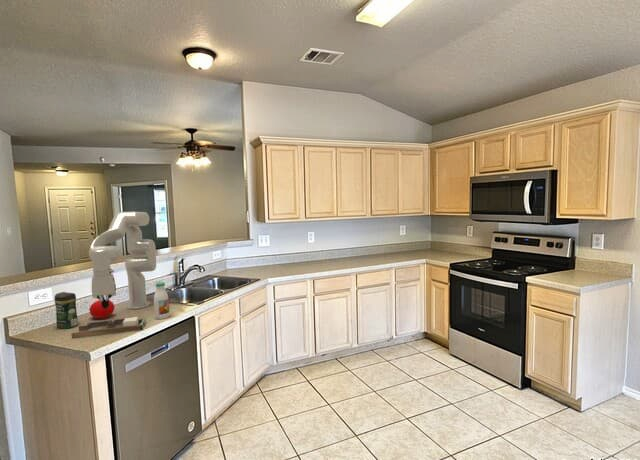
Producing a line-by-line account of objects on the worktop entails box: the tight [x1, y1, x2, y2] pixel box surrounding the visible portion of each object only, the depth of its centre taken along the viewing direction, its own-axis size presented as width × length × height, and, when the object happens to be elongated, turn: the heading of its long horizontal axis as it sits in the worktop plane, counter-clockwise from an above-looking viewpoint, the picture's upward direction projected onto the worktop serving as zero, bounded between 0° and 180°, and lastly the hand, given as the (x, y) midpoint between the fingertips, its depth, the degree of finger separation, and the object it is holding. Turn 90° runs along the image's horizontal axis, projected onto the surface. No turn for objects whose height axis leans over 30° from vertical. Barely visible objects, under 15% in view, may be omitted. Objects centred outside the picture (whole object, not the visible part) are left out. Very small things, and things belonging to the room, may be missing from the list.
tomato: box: [88, 299, 115, 320], centre depth 200 cm, size 11×12×10 cm
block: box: [122, 316, 140, 327], centre depth 182 cm, size 6×6×5 cm
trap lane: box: [71, 318, 147, 339], centre depth 181 cm, size 15×31×2 cm, turn 108°
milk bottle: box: [153, 281, 170, 320], centre depth 198 cm, size 8×8×20 cm
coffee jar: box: [53, 291, 79, 329], centre depth 186 cm, size 10×8×19 cm
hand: (105, 307), depth 179 cm, fingers closed
